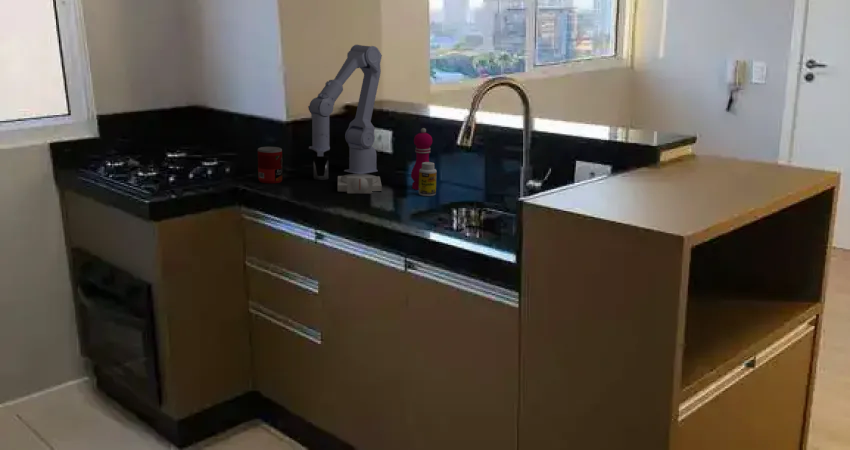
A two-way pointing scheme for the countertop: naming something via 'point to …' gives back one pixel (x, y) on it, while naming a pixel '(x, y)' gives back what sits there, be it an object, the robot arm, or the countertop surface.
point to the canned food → (270, 164)
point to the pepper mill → (420, 155)
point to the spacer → (324, 173)
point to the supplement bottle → (427, 179)
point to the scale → (359, 183)
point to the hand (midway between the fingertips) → (321, 173)
